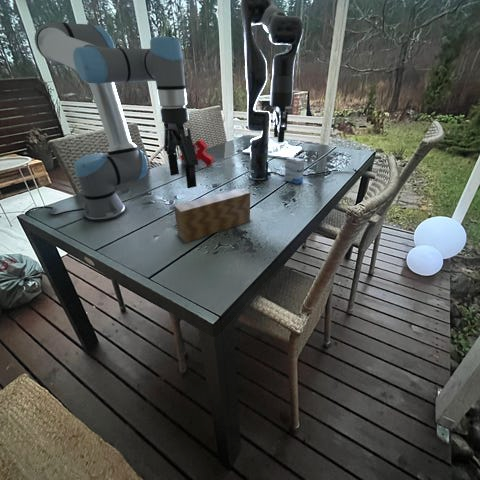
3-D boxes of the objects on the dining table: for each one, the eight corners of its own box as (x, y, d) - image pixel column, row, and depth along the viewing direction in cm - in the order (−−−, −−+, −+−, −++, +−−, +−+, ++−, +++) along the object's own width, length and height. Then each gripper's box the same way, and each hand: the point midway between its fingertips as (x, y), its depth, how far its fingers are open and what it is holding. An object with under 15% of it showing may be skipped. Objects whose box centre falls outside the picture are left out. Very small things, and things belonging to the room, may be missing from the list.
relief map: (291, 159, 177) (291, 151, 174) (243, 153, 190) (243, 145, 187) (302, 149, 197) (303, 142, 194) (258, 144, 211) (258, 137, 208)
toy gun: (217, 159, 165) (202, 138, 161) (214, 161, 162) (199, 139, 158) (197, 174, 175) (183, 155, 171) (194, 176, 172) (179, 156, 168)
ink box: (302, 181, 142) (305, 159, 136) (297, 184, 139) (300, 161, 133) (289, 177, 147) (291, 156, 141) (284, 180, 144) (285, 158, 138)
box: (241, 215, 111) (241, 187, 105) (249, 221, 107) (250, 192, 100) (178, 235, 98) (173, 205, 92) (184, 242, 94) (180, 211, 88)
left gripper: (206, 110, 68) (211, 190, 79) (170, 101, 85) (178, 168, 97) (178, 113, 64) (188, 196, 76) (146, 103, 82) (158, 172, 93)
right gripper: (297, 92, 88) (292, 143, 96) (288, 89, 99) (284, 135, 108) (274, 92, 87) (271, 144, 96) (267, 89, 99) (265, 135, 108)
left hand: (182, 180), depth 86 cm, fingers open, 13 cm apart
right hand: (278, 139), depth 102 cm, fingers open, 8 cm apart
